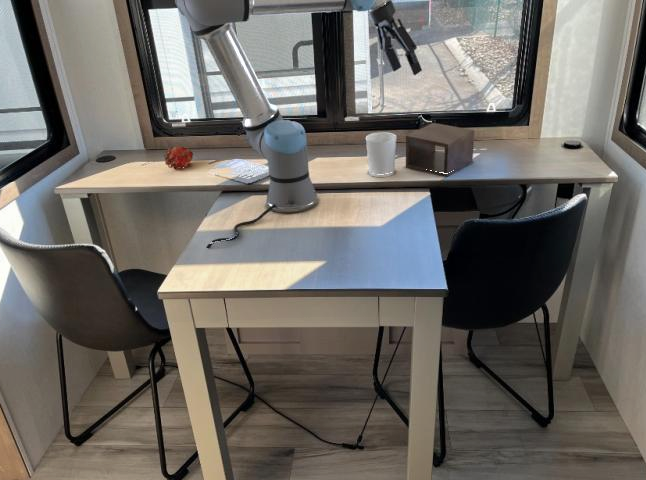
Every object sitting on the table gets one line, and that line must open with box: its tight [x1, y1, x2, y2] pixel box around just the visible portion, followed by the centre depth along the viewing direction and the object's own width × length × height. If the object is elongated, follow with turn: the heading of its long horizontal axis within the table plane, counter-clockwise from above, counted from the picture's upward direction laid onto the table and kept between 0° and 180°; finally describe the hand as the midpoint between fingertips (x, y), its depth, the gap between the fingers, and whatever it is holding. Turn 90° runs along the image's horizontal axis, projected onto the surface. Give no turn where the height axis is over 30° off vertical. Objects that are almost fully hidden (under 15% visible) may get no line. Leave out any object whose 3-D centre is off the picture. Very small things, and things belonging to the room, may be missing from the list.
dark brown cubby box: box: [405, 122, 476, 178], centre depth 195 cm, size 16×16×11 cm
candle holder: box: [365, 131, 397, 178], centre depth 192 cm, size 10×10×12 cm
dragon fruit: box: [164, 144, 194, 170], centre depth 209 cm, size 8×8×12 cm
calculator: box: [209, 158, 270, 181], centre depth 202 cm, size 13×20×2 cm, turn 51°
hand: (407, 70), depth 186 cm, fingers open, 13 cm apart
